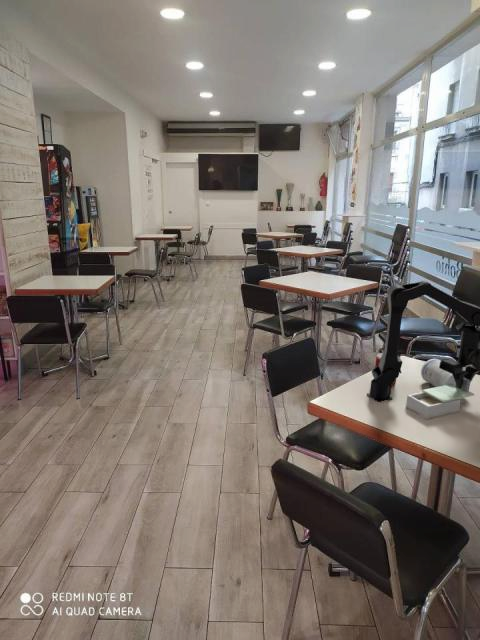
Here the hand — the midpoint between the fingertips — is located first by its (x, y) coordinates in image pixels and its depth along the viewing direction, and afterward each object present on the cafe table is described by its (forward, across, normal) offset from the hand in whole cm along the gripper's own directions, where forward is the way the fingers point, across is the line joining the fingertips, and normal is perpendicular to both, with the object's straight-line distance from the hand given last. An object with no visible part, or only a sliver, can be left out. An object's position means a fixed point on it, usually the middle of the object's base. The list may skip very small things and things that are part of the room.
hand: (462, 387), depth 149 cm
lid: (+1, -6, 0) cm, 7 cm away
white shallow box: (+6, -13, 0) cm, 14 cm away
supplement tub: (+1, +5, +19) cm, 19 cm away
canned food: (+6, -13, +23) cm, 27 cm away
